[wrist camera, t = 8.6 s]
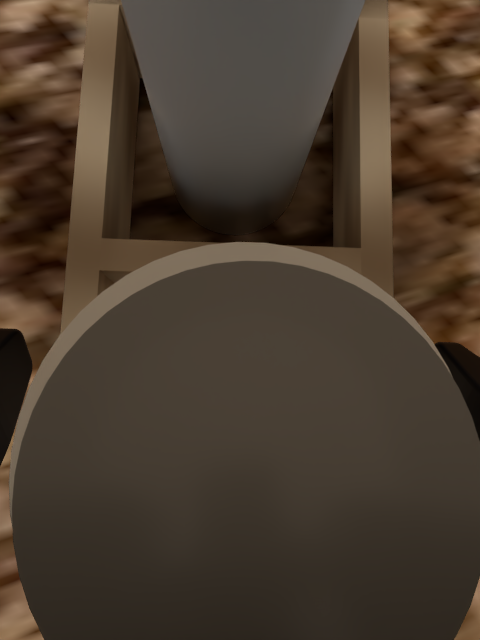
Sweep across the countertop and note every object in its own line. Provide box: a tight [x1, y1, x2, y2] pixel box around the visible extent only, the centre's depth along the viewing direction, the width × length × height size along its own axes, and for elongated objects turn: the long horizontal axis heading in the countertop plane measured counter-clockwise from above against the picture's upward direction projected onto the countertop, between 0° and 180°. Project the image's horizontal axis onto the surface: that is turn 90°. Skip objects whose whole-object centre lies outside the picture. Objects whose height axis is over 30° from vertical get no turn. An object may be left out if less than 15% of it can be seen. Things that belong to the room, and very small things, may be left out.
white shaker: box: [9, 242, 480, 640], centre depth 10 cm, size 5×5×12 cm
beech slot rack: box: [60, 0, 394, 334], centre depth 15 cm, size 19×10×4 cm, turn 178°
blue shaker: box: [121, 0, 365, 235], centre depth 11 cm, size 5×5×12 cm
